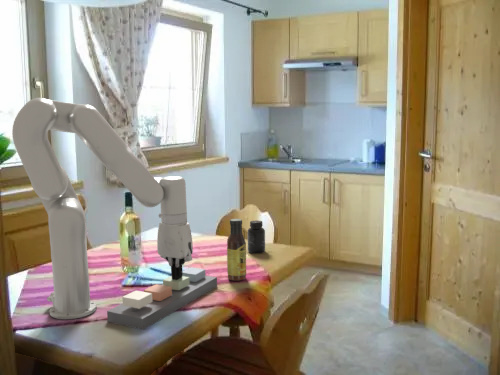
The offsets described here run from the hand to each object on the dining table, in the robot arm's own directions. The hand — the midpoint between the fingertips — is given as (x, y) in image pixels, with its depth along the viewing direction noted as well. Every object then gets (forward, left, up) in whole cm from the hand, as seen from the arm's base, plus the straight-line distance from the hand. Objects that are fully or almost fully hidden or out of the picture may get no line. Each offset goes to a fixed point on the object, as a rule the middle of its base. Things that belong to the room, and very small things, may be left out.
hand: (177, 278), depth 164 cm
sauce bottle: (+8, +23, -6) cm, 25 cm away
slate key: (0, +9, -3) cm, 9 cm away
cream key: (0, -18, -2) cm, 18 cm away
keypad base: (0, -5, -6) cm, 8 cm away
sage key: (0, 0, -2) cm, 3 cm away
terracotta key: (0, -9, -3) cm, 10 cm away
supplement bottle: (-1, +55, -6) cm, 55 cm away
